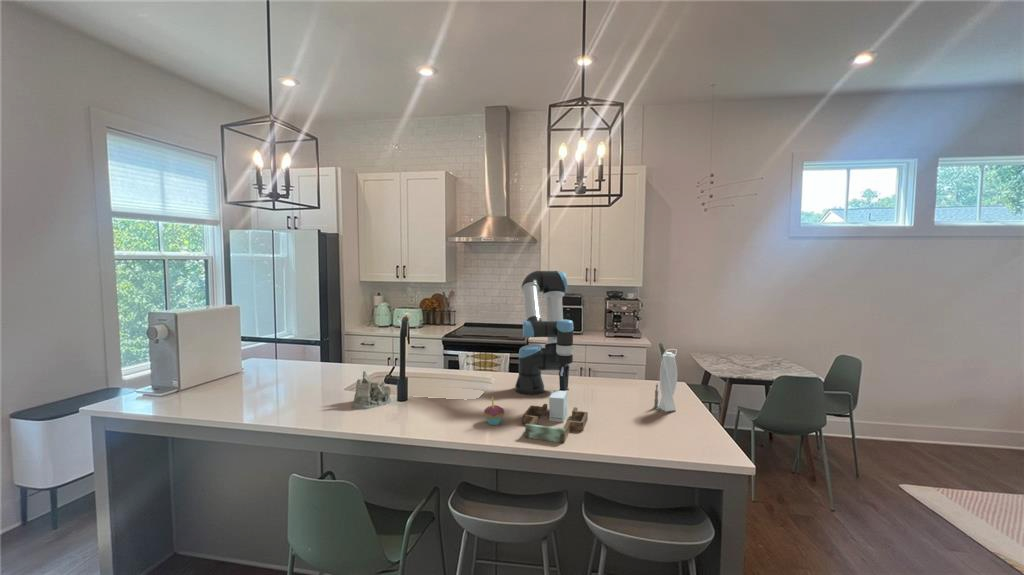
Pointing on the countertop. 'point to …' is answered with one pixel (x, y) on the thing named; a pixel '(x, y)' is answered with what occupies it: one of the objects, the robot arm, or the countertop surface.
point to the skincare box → (558, 406)
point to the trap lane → (551, 432)
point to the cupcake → (494, 414)
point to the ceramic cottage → (370, 394)
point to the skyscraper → (667, 382)
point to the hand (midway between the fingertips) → (563, 404)
